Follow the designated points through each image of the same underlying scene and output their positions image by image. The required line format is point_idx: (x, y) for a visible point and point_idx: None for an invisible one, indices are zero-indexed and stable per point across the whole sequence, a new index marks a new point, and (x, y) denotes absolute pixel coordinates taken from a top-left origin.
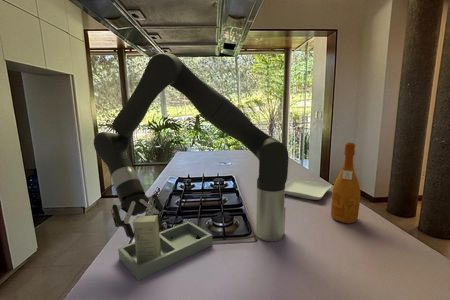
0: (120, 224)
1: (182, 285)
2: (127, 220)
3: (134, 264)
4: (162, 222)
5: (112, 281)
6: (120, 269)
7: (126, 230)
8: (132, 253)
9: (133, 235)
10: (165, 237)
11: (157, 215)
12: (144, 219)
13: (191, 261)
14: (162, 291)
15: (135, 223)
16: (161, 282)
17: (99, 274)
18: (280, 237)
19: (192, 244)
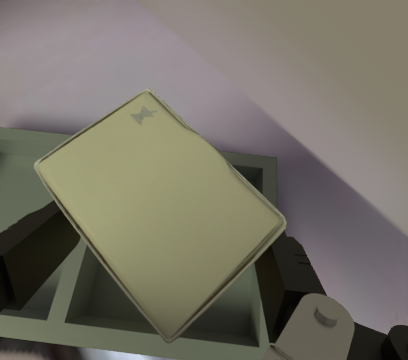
0: (381, 334)
1: (193, 86)
2: (312, 323)
3: (273, 184)
4: (32, 212)
5: (325, 232)
6: None
7: (312, 267)
8: (211, 325)
9: None
10: (35, 312)
11: (39, 159)
12: (179, 176)
13: None
14: (238, 103)
15: (265, 204)
16: (221, 127)
17: (352, 307)
18: None
19: (50, 134)
